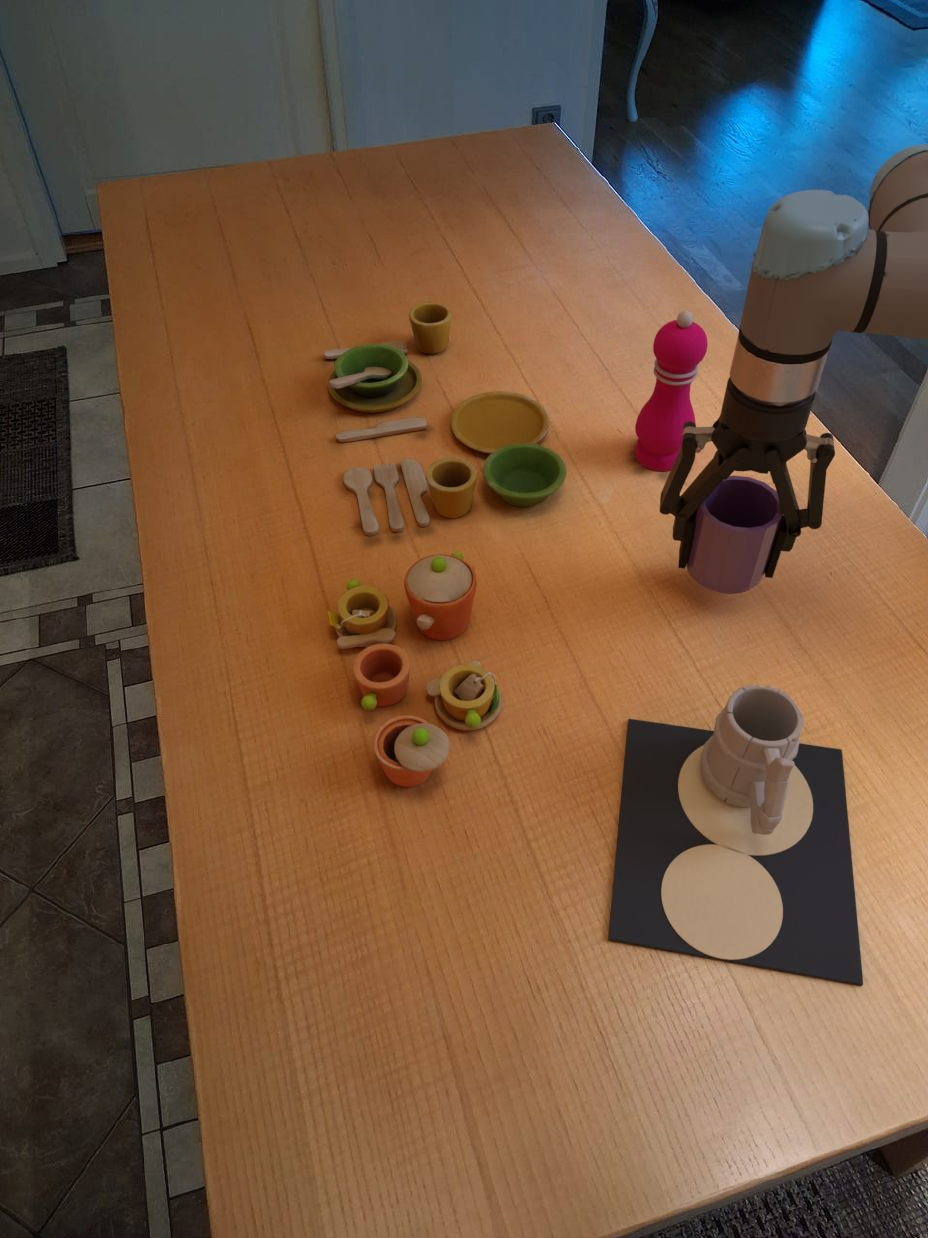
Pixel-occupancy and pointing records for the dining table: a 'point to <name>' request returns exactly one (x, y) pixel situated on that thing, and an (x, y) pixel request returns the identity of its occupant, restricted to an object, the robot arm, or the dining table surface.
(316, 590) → the dining table surface
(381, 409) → the tableware set
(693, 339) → the pepper mill
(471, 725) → the toy tea set
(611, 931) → the placemat
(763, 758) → the mug
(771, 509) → the purple cup
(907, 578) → the dining table surface
